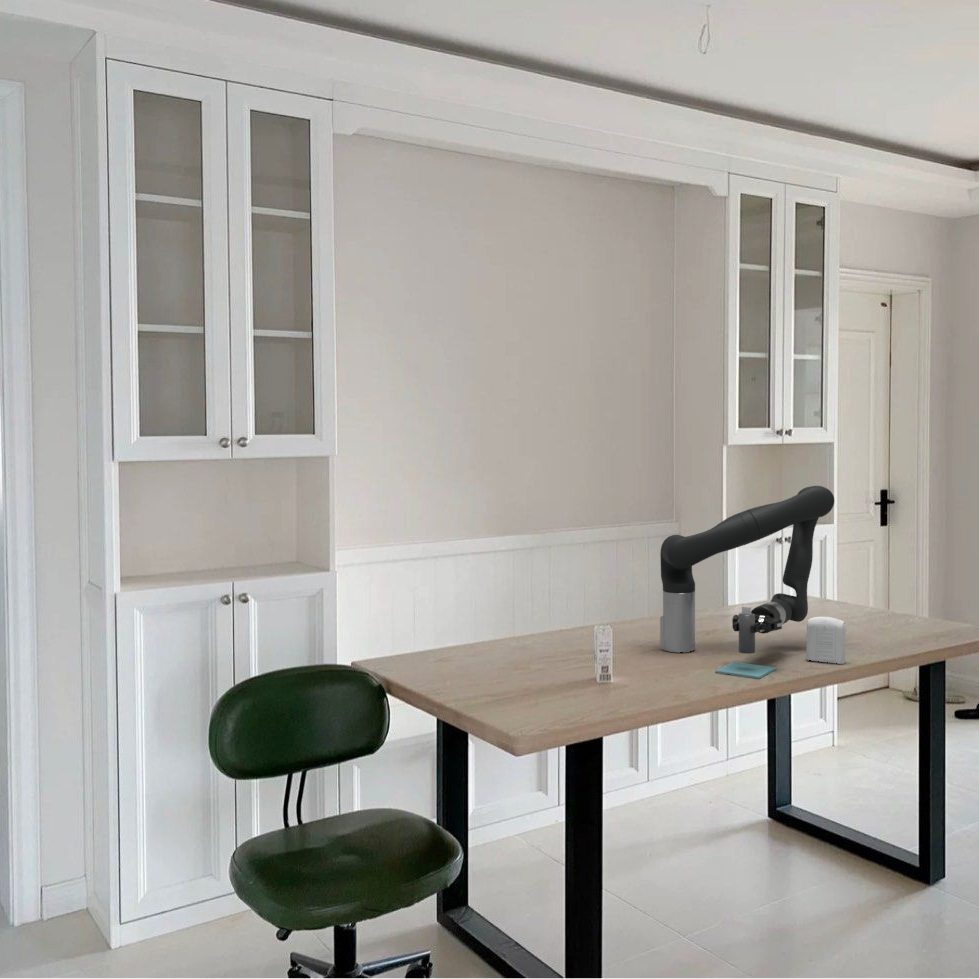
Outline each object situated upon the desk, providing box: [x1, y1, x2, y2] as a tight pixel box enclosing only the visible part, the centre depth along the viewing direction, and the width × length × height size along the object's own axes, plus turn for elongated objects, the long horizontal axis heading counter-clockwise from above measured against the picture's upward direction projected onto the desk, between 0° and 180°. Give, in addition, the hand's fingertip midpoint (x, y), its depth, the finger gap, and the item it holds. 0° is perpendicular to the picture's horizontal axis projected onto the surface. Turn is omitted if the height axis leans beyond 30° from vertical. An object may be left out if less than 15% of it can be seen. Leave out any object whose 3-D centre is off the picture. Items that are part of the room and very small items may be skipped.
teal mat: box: [715, 661, 777, 680], centre depth 272 cm, size 12×12×1 cm
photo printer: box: [805, 616, 847, 665], centre depth 281 cm, size 10×4×12 cm, turn 60°
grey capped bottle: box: [737, 605, 756, 655], centre depth 271 cm, size 4×4×12 cm
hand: (744, 628), depth 269 cm, fingers closed on grey capped bottle, 4 cm apart
